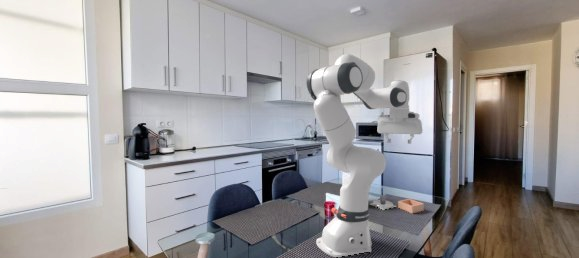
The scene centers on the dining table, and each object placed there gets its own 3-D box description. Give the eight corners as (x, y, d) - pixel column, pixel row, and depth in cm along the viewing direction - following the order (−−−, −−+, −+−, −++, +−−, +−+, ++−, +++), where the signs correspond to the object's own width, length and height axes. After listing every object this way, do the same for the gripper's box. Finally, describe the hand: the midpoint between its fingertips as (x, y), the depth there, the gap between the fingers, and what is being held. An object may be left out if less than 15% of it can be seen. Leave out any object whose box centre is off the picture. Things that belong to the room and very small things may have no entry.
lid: (383, 209, 137) (383, 200, 137) (368, 203, 147) (368, 194, 147) (397, 206, 142) (397, 197, 141) (382, 200, 152) (382, 192, 151)
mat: (383, 210, 138) (383, 209, 138) (369, 204, 147) (369, 203, 147) (396, 207, 142) (396, 206, 142) (382, 201, 151) (382, 200, 151)
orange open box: (412, 213, 132) (412, 206, 132) (397, 208, 140) (398, 201, 140) (423, 211, 136) (423, 203, 136) (409, 205, 144) (409, 198, 144)
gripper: (375, 115, 127) (375, 142, 128) (421, 114, 116) (421, 144, 117) (378, 114, 132) (378, 141, 133) (423, 114, 121) (422, 143, 122)
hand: (398, 143), depth 125 cm, fingers open, 8 cm apart
